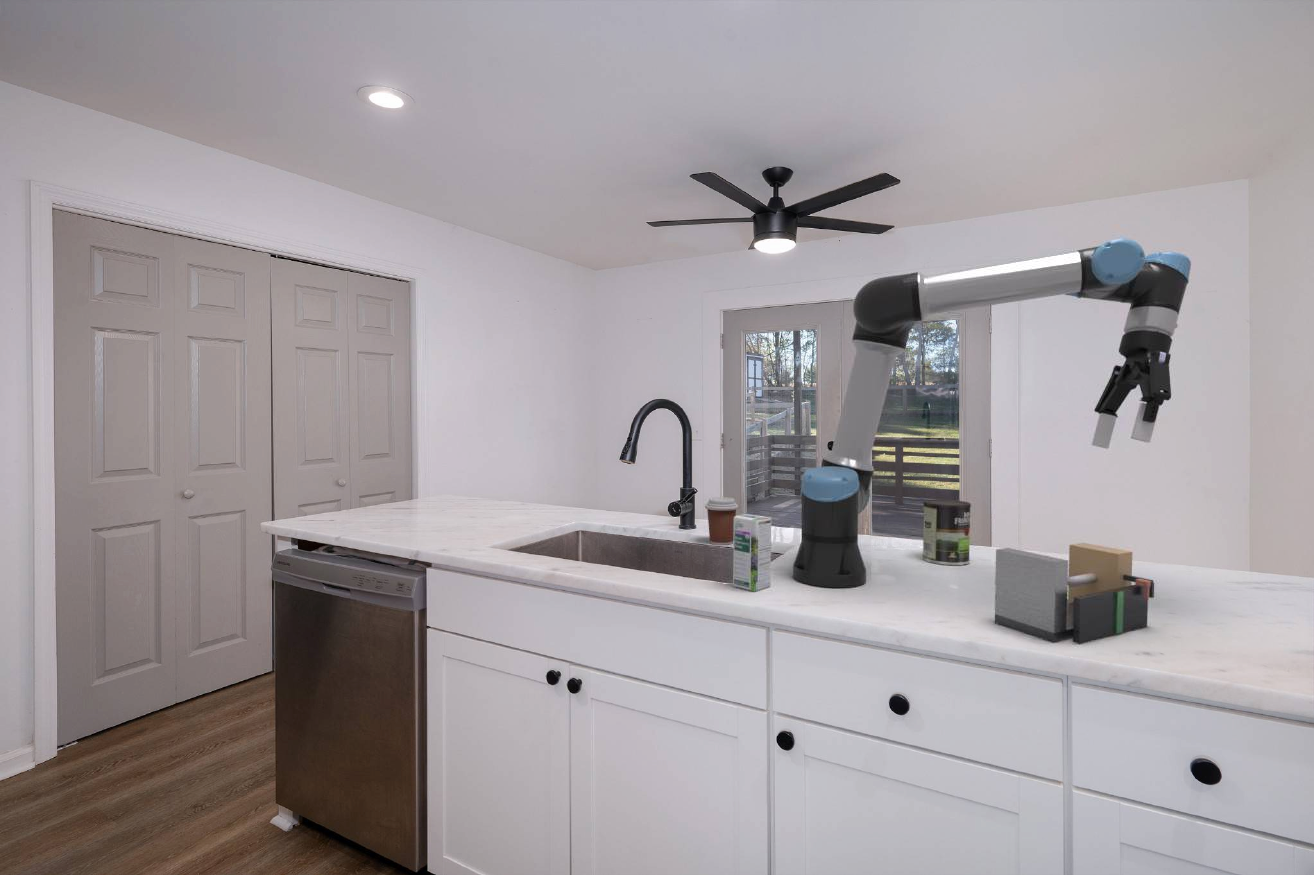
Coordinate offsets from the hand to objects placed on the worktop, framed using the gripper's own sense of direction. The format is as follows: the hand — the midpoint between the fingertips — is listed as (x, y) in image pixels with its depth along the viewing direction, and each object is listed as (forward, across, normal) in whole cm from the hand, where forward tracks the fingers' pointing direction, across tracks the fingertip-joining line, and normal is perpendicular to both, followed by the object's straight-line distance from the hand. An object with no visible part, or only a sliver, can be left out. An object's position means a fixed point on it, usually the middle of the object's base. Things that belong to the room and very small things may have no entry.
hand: (1118, 443), depth 116 cm
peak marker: (+26, -13, -3) cm, 30 cm away
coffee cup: (+44, +43, +68) cm, 91 cm away
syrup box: (+47, +2, +57) cm, 74 cm away
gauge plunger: (+31, -9, 0) cm, 32 cm away
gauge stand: (+34, -12, +5) cm, 36 cm away
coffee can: (+31, +32, +15) cm, 47 cm away
